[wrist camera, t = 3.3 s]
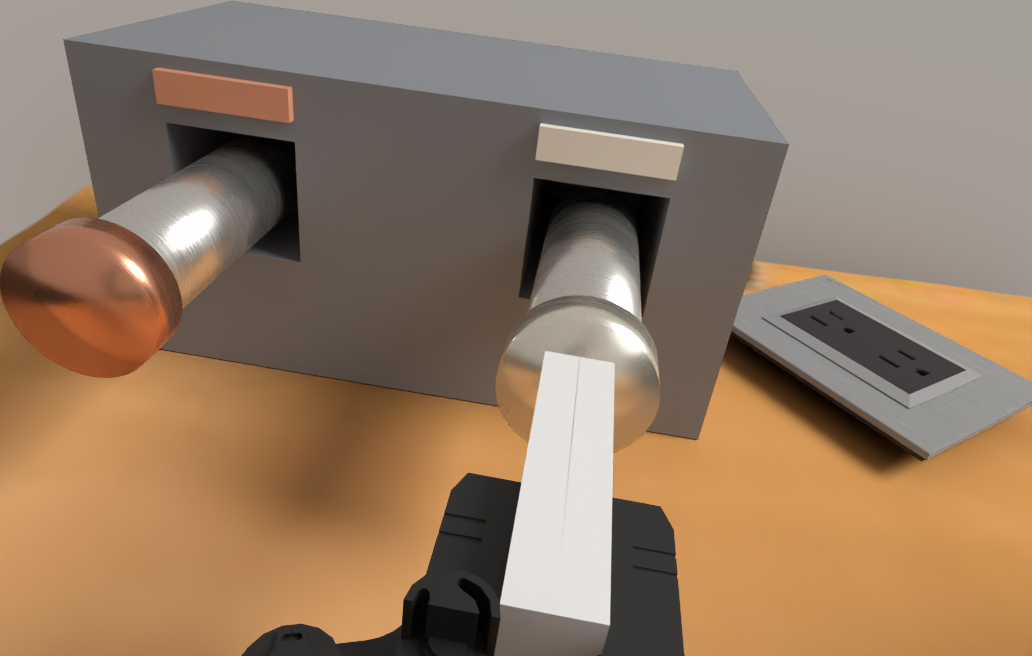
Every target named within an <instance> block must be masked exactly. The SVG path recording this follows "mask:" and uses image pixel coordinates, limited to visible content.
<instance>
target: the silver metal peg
mask: <svg viewBox="0 0 1032 656" xmlns="http://www.w3.org/2000/svg"><path fill="white" fill-rule="evenodd" d="M545 351H549V352H555V353H561V354H566V355H572V356H578V357H583V358H589V359H595V360H600V361H606V362H612V363H615V375H614V431H613V453H615V452H617V451H619V450H621V449H624V448H625V447H627V446H629V445H631V444H632V443H633V442H635V441H636V440H637V439H639V438H640V437H641V436H642V435H643V434H644V433H645V432H646V431H647V429H648V428H649V427H650V425H651V424H652V422H653V420H654V418H655V416H656V414H657V411H658V408H659V403H660V380H659V366H658V356H657V350H656V347H655V344H654V341H653V339H652V337H651V335H650V333H649V332H648V330H647V329H646V327H645V326H644V325H643V323H642V315H641V292H640V269H639V246H638V225H637V220H636V216H635V214H634V212H633V210H632V208H631V207H630V205H629V204H628V203H627V202H626V201H625V200H624V199H623V198H622V197H621V196H619V195H618V194H616V193H614V192H612V191H609V190H607V189H602V188H584V189H580V190H576V191H574V192H572V193H570V194H568V195H567V196H565V197H564V198H563V199H562V200H561V201H560V202H559V203H558V204H557V205H556V207H555V208H554V210H553V212H552V214H551V217H550V220H549V224H548V228H547V232H546V236H545V240H544V245H543V249H542V253H541V257H540V261H539V265H538V270H537V274H536V278H535V282H534V286H533V290H532V294H531V299H530V303H529V307H528V311H527V312H526V313H525V314H524V315H523V316H522V317H521V318H520V319H519V320H518V321H517V322H516V324H515V325H514V326H513V327H512V329H511V331H510V333H509V335H508V337H507V340H506V343H505V346H504V350H503V353H502V357H501V361H500V364H499V368H498V372H497V377H496V386H495V391H496V398H497V402H498V406H499V408H500V411H501V413H502V415H503V417H504V418H505V420H506V421H507V423H508V424H509V425H510V427H511V428H512V429H513V430H514V431H515V432H516V433H517V434H518V435H519V436H520V437H521V438H523V439H524V440H525V441H527V442H528V443H529V438H530V433H531V427H532V422H533V416H534V410H535V405H536V399H537V394H538V388H539V382H540V377H541V371H542V366H543V360H544V355H545Z"/></svg>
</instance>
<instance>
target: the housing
mask: <svg viewBox="0 0 1032 656" xmlns="http://www.w3.org/2000/svg"><path fill="white" fill-rule="evenodd" d="M64 45H65V50H66V56H67V60H68V65H69V70H70V75H71V80H72V85H73V90H74V95H75V100H76V105H77V110H78V115H79V120H80V125H81V130H82V134H83V140H84V145H85V150H86V155H87V160H88V165H89V170H90V174H91V180H92V185H93V190H94V195H95V200H96V205H97V210H98V215H99V218H100V217H101V216H103V215H105V214H106V213H108V212H110V211H112V210H113V209H115V208H117V207H118V206H120V205H122V204H124V203H125V202H127V201H129V200H130V199H132V198H134V197H136V196H137V195H139V194H141V193H142V192H144V191H146V190H148V189H149V188H151V187H153V186H154V185H156V184H158V183H159V182H161V181H163V180H165V179H166V178H168V177H170V176H171V175H173V174H175V173H177V172H178V171H180V170H182V169H183V168H185V167H187V166H189V165H190V164H192V163H194V162H195V161H197V160H199V159H201V158H202V157H204V156H206V155H207V154H209V153H211V152H213V151H214V150H216V149H218V148H219V147H221V146H223V145H225V144H226V143H228V142H230V141H231V140H233V139H236V138H238V137H243V136H255V137H260V138H263V139H266V140H268V141H270V142H272V143H273V144H275V145H277V146H278V147H279V148H280V149H282V150H283V151H284V152H285V153H286V154H287V156H288V157H289V158H290V159H291V161H292V162H293V164H294V166H295V168H296V175H297V196H298V201H297V203H296V205H295V207H294V208H293V209H292V211H291V212H290V213H288V214H287V215H286V216H285V217H284V218H283V219H282V220H281V221H280V222H278V223H277V224H276V225H275V226H274V227H273V228H272V229H271V230H270V231H268V232H267V233H266V234H265V235H264V236H263V237H262V238H261V239H260V240H258V241H257V242H256V243H255V244H254V245H253V246H252V247H251V248H250V249H248V250H247V251H246V252H245V253H244V254H243V255H242V256H241V257H240V258H238V259H237V260H236V261H235V262H234V263H233V264H232V265H231V266H230V267H228V268H227V269H226V270H225V271H224V272H223V273H222V274H221V275H220V276H218V277H217V278H216V279H215V280H214V281H213V282H212V283H211V284H210V285H209V286H207V287H206V288H205V289H204V290H203V291H202V292H201V293H200V294H199V295H197V296H196V297H195V298H194V299H193V300H192V301H191V302H190V303H189V304H187V305H186V306H185V307H184V308H183V309H182V317H181V321H180V324H179V327H178V329H177V331H176V332H175V333H174V335H173V336H172V337H171V338H170V339H169V340H168V341H167V342H166V343H165V344H164V345H163V346H162V347H161V348H160V349H163V350H169V351H175V352H181V353H187V354H193V355H199V356H205V357H211V358H217V359H222V360H228V361H234V362H240V363H246V364H252V365H258V366H264V367H270V368H276V369H282V370H288V371H294V372H300V373H306V374H312V375H318V376H323V377H329V378H335V379H341V380H347V381H353V382H359V383H365V384H371V385H377V386H383V387H389V388H395V389H401V390H407V391H413V392H419V393H424V394H430V395H436V396H442V397H448V398H454V399H460V400H466V401H472V402H478V403H484V404H490V405H496V406H498V402H497V398H496V391H495V386H496V377H497V372H498V368H499V364H500V361H501V357H502V353H503V350H504V346H505V343H506V340H507V337H508V335H509V333H510V331H511V329H512V327H513V326H514V325H515V324H516V322H517V321H518V320H519V319H520V318H521V317H522V316H523V315H524V314H525V313H526V312H527V311H528V307H529V303H530V299H531V294H532V290H533V286H534V282H535V278H536V274H537V270H538V265H539V261H540V257H541V253H542V249H543V245H544V240H545V236H546V232H547V228H548V224H549V220H550V217H551V214H552V212H553V210H554V208H555V207H556V205H557V204H558V203H559V202H560V201H561V200H562V199H563V198H564V197H565V196H567V195H568V194H570V193H572V192H574V191H576V190H580V189H584V188H602V189H607V190H609V191H612V192H614V193H616V194H618V195H619V196H621V197H622V198H623V199H624V200H625V201H626V202H627V203H628V204H629V205H630V207H631V208H632V210H633V212H634V214H635V216H636V220H637V225H638V246H639V269H640V292H641V315H642V323H643V325H644V326H645V327H646V329H647V330H648V332H649V333H650V335H651V337H652V339H653V341H654V344H655V347H656V350H657V356H658V366H659V380H660V403H659V408H658V411H657V414H656V416H655V418H654V420H653V422H652V424H651V425H650V427H649V428H648V429H647V431H650V432H656V433H662V434H668V435H674V436H680V437H686V438H692V439H698V438H699V434H700V431H701V428H702V425H703V421H704V418H705V415H706V412H707V408H708V405H709V402H710V399H711V396H712V392H713V389H714V386H715V383H716V379H717V376H718V373H719V370H720V366H721V363H722V360H723V357H724V353H725V350H726V347H727V344H728V340H729V337H730V334H731V331H732V328H733V324H734V321H735V318H736V315H737V311H738V308H739V305H740V302H741V298H742V295H743V292H744V289H745V285H746V282H747V279H748V276H749V273H750V269H751V266H752V263H753V260H754V256H755V253H756V250H757V247H758V243H759V240H760V237H761V234H762V230H763V227H764V224H765V221H766V217H767V214H768V211H769V208H770V205H771V201H772V198H773V195H774V191H775V188H776V185H777V182H778V179H779V175H780V172H781V169H782V166H783V162H784V159H785V156H786V153H787V149H788V146H789V144H788V142H787V141H786V139H785V138H784V137H783V135H782V134H781V132H780V131H779V129H778V128H777V127H776V125H775V124H774V122H773V121H772V120H771V118H770V117H769V116H768V114H767V113H766V111H765V110H764V108H763V107H762V105H761V104H760V103H759V101H758V100H757V99H756V97H755V96H754V94H753V93H752V91H751V90H750V89H749V87H748V86H747V84H746V83H745V82H744V80H743V79H742V77H741V76H740V75H739V73H738V72H737V71H731V70H724V69H717V68H709V67H702V66H694V65H687V64H680V63H674V62H666V61H659V60H651V59H645V58H638V57H631V56H623V55H616V54H609V53H601V52H595V51H588V50H580V49H572V48H566V47H559V46H552V45H544V44H537V43H530V42H523V41H516V40H508V39H501V38H494V37H487V36H480V35H473V34H466V33H459V32H451V31H444V30H437V29H429V28H422V27H416V26H409V25H401V24H394V23H387V22H380V21H372V20H365V19H358V18H351V17H344V16H337V15H330V14H322V13H315V12H308V11H301V10H294V9H286V8H280V7H272V6H265V5H258V4H250V3H244V2H237V1H229V2H225V3H221V4H216V5H212V6H207V7H203V8H199V9H194V10H190V11H186V12H181V13H177V14H173V15H168V16H164V17H159V18H155V19H151V20H146V21H142V22H137V23H133V24H129V25H124V26H120V27H115V28H111V29H107V30H102V31H98V32H94V33H89V34H85V35H80V36H76V37H72V38H67V39H64Z"/></svg>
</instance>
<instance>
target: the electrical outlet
mask: <svg viewBox="0 0 1032 656" xmlns="http://www.w3.org/2000/svg"><path fill="white" fill-rule="evenodd" d="M730 335H732V336H733V337H735V338H736V339H738V340H739V341H741V342H742V343H744V344H745V345H747V346H748V347H750V348H751V349H753V350H754V351H756V352H757V353H759V354H760V355H762V356H763V357H765V358H766V359H768V360H769V361H771V362H772V363H774V364H775V365H777V366H778V367H780V368H781V369H783V370H784V371H786V372H787V373H789V374H790V375H792V376H793V377H795V378H796V379H798V380H799V381H801V382H802V383H804V384H805V385H807V386H809V387H810V388H812V389H813V390H815V391H816V392H818V393H819V394H821V395H822V396H824V397H825V398H827V399H828V400H830V401H831V402H833V403H834V404H836V405H837V406H839V407H840V408H842V409H843V410H845V411H846V412H848V413H849V414H851V415H852V416H854V417H855V418H857V419H858V420H860V421H861V422H863V423H864V424H866V425H867V426H869V427H870V428H872V429H873V430H875V431H876V432H878V433H879V434H881V435H882V436H884V437H885V438H887V439H888V440H890V441H891V442H893V443H894V444H896V445H897V446H899V447H900V448H902V449H903V450H905V451H906V452H908V453H909V454H911V455H912V456H914V457H916V458H917V459H919V460H920V461H923V460H928V459H930V458H932V457H934V456H936V455H937V454H939V453H941V452H943V451H945V450H947V449H949V448H951V447H953V446H955V445H957V444H959V443H961V442H963V441H965V440H966V439H968V438H970V437H972V436H974V435H976V434H978V433H980V432H982V431H984V430H986V429H988V428H990V427H992V426H994V425H995V424H997V423H999V422H1001V421H1003V420H1005V419H1007V418H1009V417H1011V416H1013V415H1015V414H1017V413H1019V412H1021V411H1023V410H1024V409H1026V408H1028V407H1030V406H1032V382H1031V381H1029V380H1027V379H1025V378H1023V377H1021V376H1019V375H1017V374H1015V373H1013V372H1012V371H1010V370H1008V369H1006V368H1004V367H1002V366H1000V365H998V364H996V363H994V362H992V361H990V360H989V359H987V358H985V357H983V356H981V355H979V354H977V353H975V352H973V351H971V350H969V349H967V348H966V347H964V346H962V345H960V344H958V343H956V342H954V341H952V340H950V339H948V338H946V337H944V336H943V335H941V334H939V333H937V332H935V331H933V330H931V329H929V328H927V327H925V326H923V325H921V324H920V323H918V322H916V321H914V320H912V319H910V318H908V317H906V316H904V315H902V314H900V313H898V312H896V311H895V310H893V309H891V308H889V307H887V306H885V305H883V304H881V303H879V302H877V301H875V300H873V299H872V298H870V297H868V296H866V295H864V294H862V293H860V292H858V291H856V290H854V289H852V288H850V287H849V286H847V285H845V284H843V283H841V282H839V281H837V280H835V279H833V278H831V277H829V276H827V275H822V276H818V277H814V278H810V279H806V280H802V281H798V282H794V283H790V284H786V285H782V286H779V287H775V288H771V289H767V290H763V291H759V292H755V293H751V294H747V295H743V296H742V298H741V302H740V305H739V308H738V311H737V315H736V318H735V321H734V324H733V328H732V331H731V334H730Z"/></svg>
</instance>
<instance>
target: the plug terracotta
mask: <svg viewBox="0 0 1032 656" xmlns="http://www.w3.org/2000/svg"><path fill="white" fill-rule="evenodd" d="M297 201H298V196H297V175H296V168H295V166H294V164H293V162H292V161H291V159H290V158H289V157H288V156H287V154H286V153H285V152H284V151H283V150H282V149H280V148H279V147H278V146H277V145H275V144H273V143H272V142H270V141H268V140H266V139H263V138H260V137H255V136H243V137H238V138H236V139H233V140H231V141H230V142H228V143H226V144H225V145H223V146H221V147H219V148H218V149H216V150H214V151H213V152H211V153H209V154H207V155H206V156H204V157H202V158H201V159H199V160H197V161H195V162H194V163H192V164H190V165H189V166H187V167H185V168H183V169H182V170H180V171H178V172H177V173H175V174H173V175H171V176H170V177H168V178H166V179H165V180H163V181H161V182H159V183H158V184H156V185H154V186H153V187H151V188H149V189H148V190H146V191H144V192H142V193H141V194H139V195H137V196H136V197H134V198H132V199H130V200H129V201H127V202H125V203H124V204H122V205H120V206H118V207H117V208H115V209H113V210H112V211H110V212H108V213H106V214H105V215H103V216H101V217H100V218H98V219H97V218H88V217H85V218H74V219H69V220H66V221H63V222H61V223H59V224H57V225H55V226H54V227H52V228H50V229H48V230H46V231H45V232H43V233H41V234H39V235H37V236H35V237H34V238H32V239H30V240H28V241H26V242H25V243H23V244H21V245H19V246H18V247H16V248H15V249H14V250H13V251H12V252H10V254H9V255H8V256H7V258H6V259H5V261H4V264H3V266H2V269H1V273H0V290H1V295H2V299H3V302H4V305H5V307H6V310H7V312H8V314H9V316H10V318H11V319H12V321H13V323H14V324H15V326H16V327H17V328H18V330H19V331H20V332H21V334H22V335H23V336H24V337H25V338H26V339H27V340H28V341H29V342H30V343H31V344H32V345H33V346H34V347H35V348H36V349H37V350H38V351H40V352H41V353H42V354H44V355H45V356H46V357H48V358H49V359H51V360H52V361H54V362H55V363H57V364H59V365H61V366H63V367H65V368H67V369H70V370H72V371H74V372H77V373H80V374H83V375H88V376H92V377H101V378H112V377H119V376H123V375H127V374H129V373H131V372H133V371H135V370H136V369H138V368H139V367H140V366H142V365H143V364H144V363H145V362H146V361H147V360H148V359H149V358H150V357H151V356H152V355H153V354H154V353H155V352H156V351H157V350H159V349H160V348H161V347H162V346H163V345H164V344H165V343H166V342H167V341H168V340H169V339H170V338H171V337H172V336H173V335H174V333H175V332H176V331H177V329H178V327H179V324H180V321H181V317H182V309H183V308H184V307H185V306H186V305H187V304H189V303H190V302H191V301H192V300H193V299H194V298H195V297H196V296H197V295H199V294H200V293H201V292H202V291H203V290H204V289H205V288H206V287H207V286H209V285H210V284H211V283H212V282H213V281H214V280H215V279H216V278H217V277H218V276H220V275H221V274H222V273H223V272H224V271H225V270H226V269H227V268H228V267H230V266H231V265H232V264H233V263H234V262H235V261H236V260H237V259H238V258H240V257H241V256H242V255H243V254H244V253H245V252H246V251H247V250H248V249H250V248H251V247H252V246H253V245H254V244H255V243H256V242H257V241H258V240H260V239H261V238H262V237H263V236H264V235H265V234H266V233H267V232H268V231H270V230H271V229H272V228H273V227H274V226H275V225H276V224H277V223H278V222H280V221H281V220H282V219H283V218H284V217H285V216H286V215H287V214H288V213H290V212H291V211H292V209H293V208H294V207H295V205H296V203H297Z"/></svg>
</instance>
